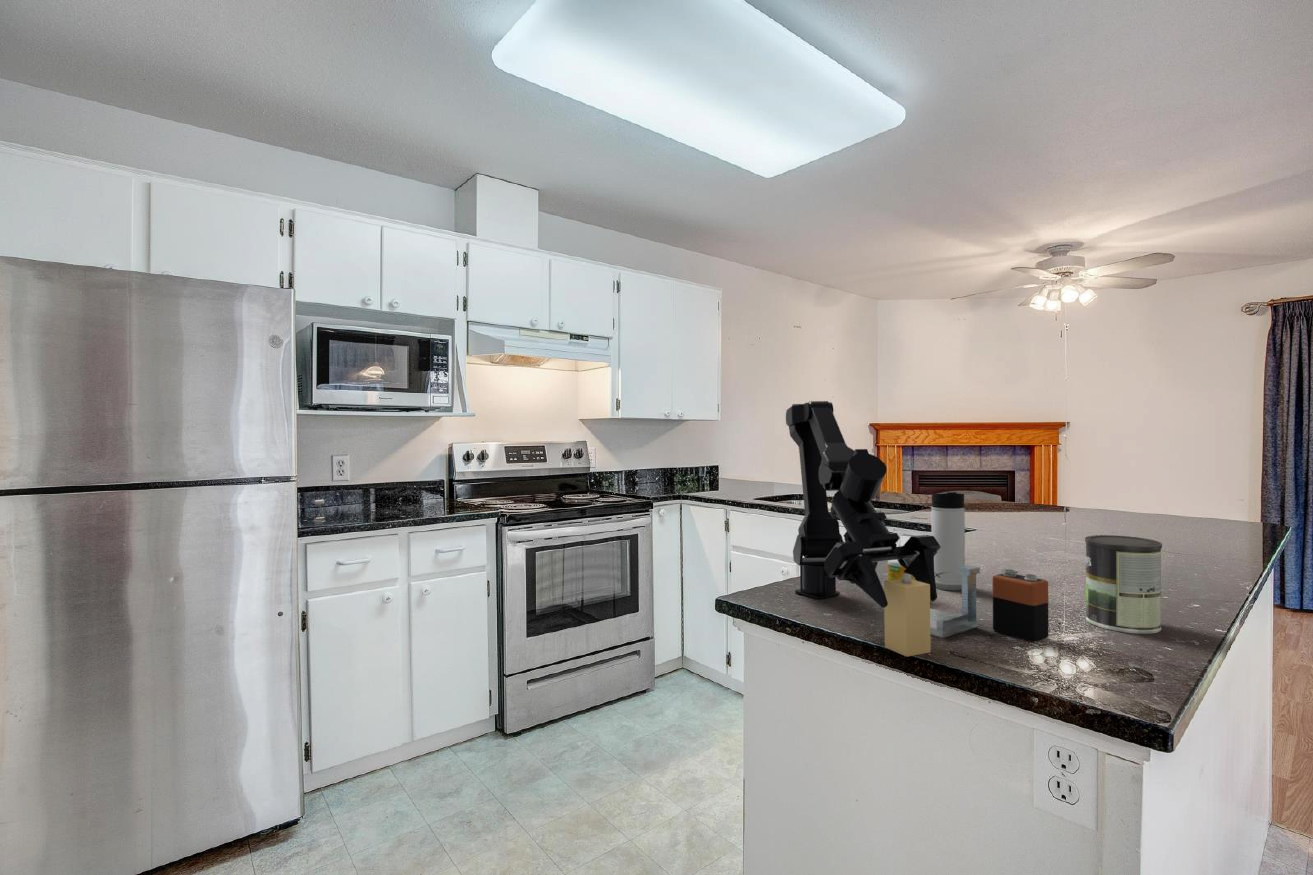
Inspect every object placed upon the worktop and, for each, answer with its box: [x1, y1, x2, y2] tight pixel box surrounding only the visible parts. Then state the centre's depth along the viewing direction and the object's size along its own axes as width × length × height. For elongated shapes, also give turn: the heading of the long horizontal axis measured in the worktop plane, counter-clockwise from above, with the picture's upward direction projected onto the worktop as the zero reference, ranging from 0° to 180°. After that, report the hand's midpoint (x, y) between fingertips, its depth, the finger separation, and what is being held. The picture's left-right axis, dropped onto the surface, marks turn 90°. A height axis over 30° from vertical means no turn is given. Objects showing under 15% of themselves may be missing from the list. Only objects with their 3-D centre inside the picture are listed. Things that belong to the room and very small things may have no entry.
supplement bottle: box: [887, 545, 916, 581], centre depth 124 cm, size 5×5×10 cm
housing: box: [883, 574, 932, 658], centre depth 94 cm, size 4×4×11 cm
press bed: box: [930, 564, 981, 639], centre depth 106 cm, size 10×10×10 cm
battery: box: [992, 568, 1049, 643], centre depth 101 cm, size 4×7×10 cm, turn 29°
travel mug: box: [930, 491, 966, 592], centre depth 131 cm, size 6×7×20 cm
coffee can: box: [1084, 534, 1163, 635], centre depth 105 cm, size 10×10×14 cm
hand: (910, 603), depth 93 cm, fingers open, 9 cm apart
